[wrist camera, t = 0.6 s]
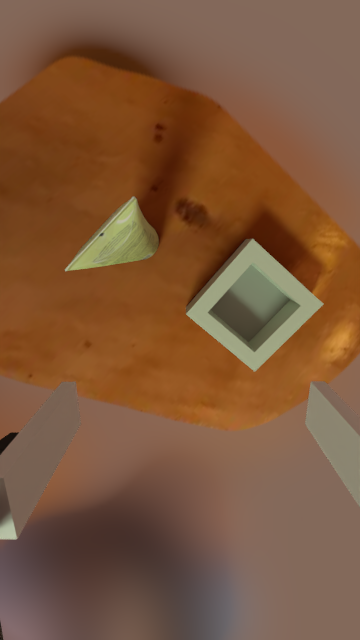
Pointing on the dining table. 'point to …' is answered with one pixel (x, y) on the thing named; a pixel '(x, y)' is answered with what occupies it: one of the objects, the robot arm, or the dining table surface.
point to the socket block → (252, 304)
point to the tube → (118, 240)
